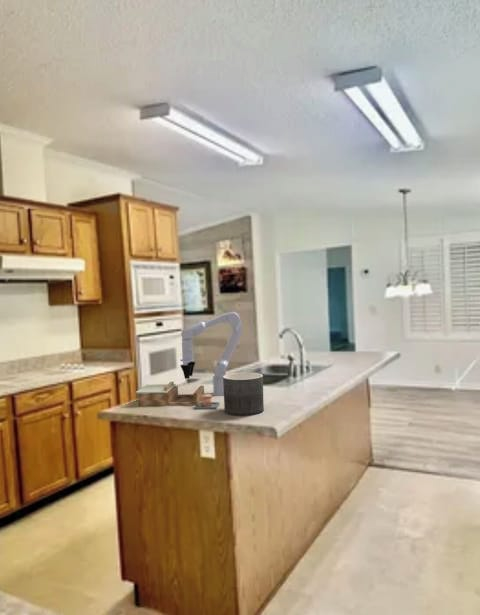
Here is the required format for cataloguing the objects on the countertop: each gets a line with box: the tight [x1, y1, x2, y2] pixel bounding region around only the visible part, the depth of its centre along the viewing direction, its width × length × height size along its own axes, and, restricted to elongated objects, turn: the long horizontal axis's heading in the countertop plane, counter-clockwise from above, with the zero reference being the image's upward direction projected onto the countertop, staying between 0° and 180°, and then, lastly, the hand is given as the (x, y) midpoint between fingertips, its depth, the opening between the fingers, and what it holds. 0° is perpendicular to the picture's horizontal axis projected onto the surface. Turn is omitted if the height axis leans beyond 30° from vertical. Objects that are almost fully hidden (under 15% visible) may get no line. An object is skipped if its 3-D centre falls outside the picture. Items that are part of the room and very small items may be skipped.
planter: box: [223, 372, 265, 417], centre depth 219 cm, size 18×18×16 cm
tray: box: [194, 401, 220, 410], centre depth 228 cm, size 10×10×1 cm
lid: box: [135, 381, 177, 394], centre depth 243 cm, size 15×19×2 cm
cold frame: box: [137, 385, 205, 407], centre depth 242 cm, size 29×19×6 cm, turn 84°
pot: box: [200, 393, 213, 407], centre depth 229 cm, size 5×5×5 cm
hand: (188, 377), depth 255 cm, fingers open, 7 cm apart
